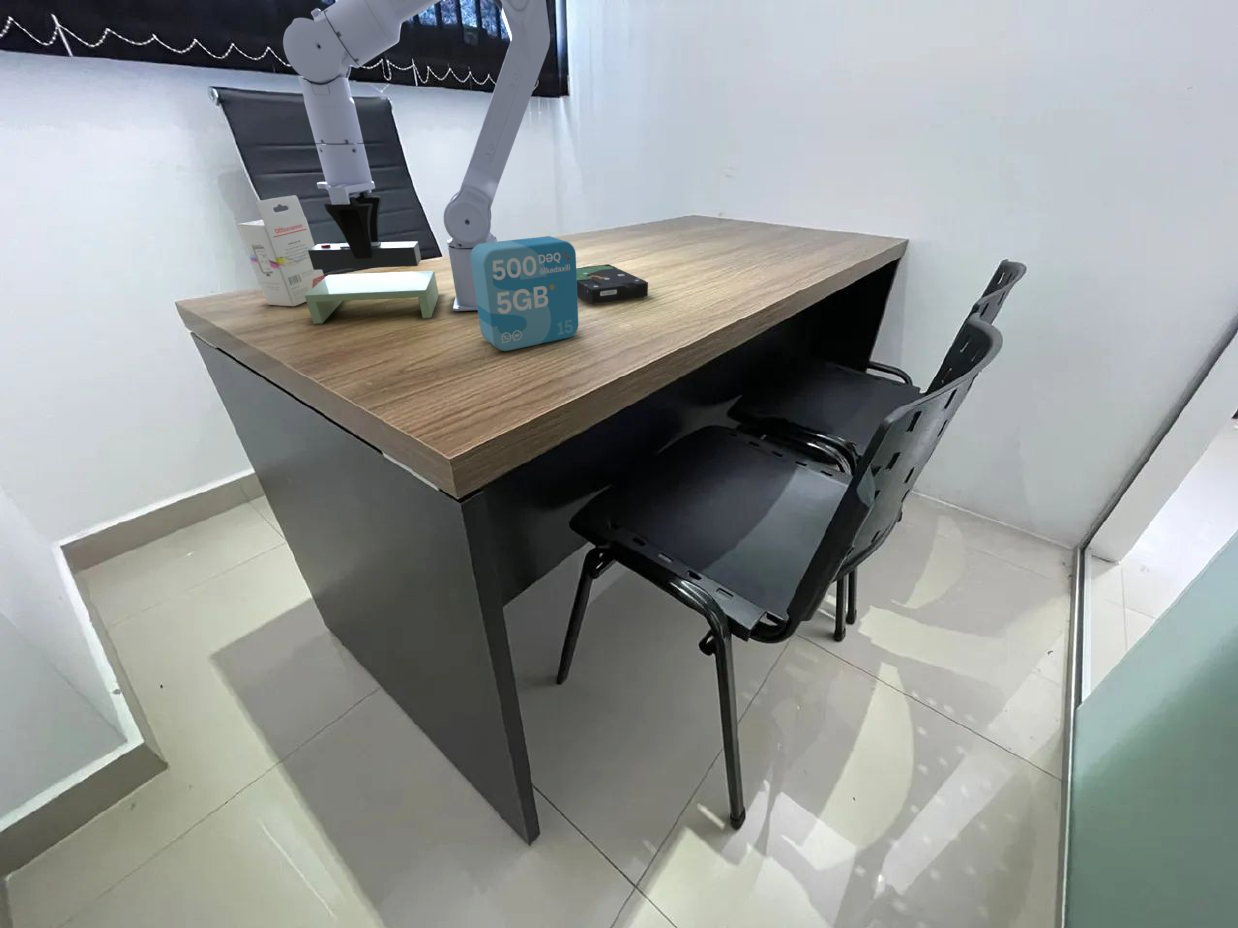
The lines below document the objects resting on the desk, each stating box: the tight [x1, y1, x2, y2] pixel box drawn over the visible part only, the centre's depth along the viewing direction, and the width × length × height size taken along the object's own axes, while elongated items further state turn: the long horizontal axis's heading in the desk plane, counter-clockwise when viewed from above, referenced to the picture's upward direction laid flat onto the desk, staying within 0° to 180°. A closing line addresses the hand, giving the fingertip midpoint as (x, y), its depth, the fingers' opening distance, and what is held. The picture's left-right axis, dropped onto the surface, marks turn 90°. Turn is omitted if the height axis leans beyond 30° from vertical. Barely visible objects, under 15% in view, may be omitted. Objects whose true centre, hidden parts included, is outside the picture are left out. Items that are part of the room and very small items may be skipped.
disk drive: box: [576, 263, 649, 305], centre depth 87 cm, size 10×3×15 cm
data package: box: [470, 235, 579, 352], centre depth 64 cm, size 12×4×12 cm, turn 124°
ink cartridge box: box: [236, 194, 325, 307], centre depth 79 cm, size 9×5×15 cm, turn 168°
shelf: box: [305, 270, 440, 325], centre depth 77 cm, size 16×12×4 cm
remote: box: [308, 241, 422, 271], centre depth 74 cm, size 14×4×3 cm, turn 101°
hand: (367, 254), depth 74 cm, fingers closed on remote, 4 cm apart
